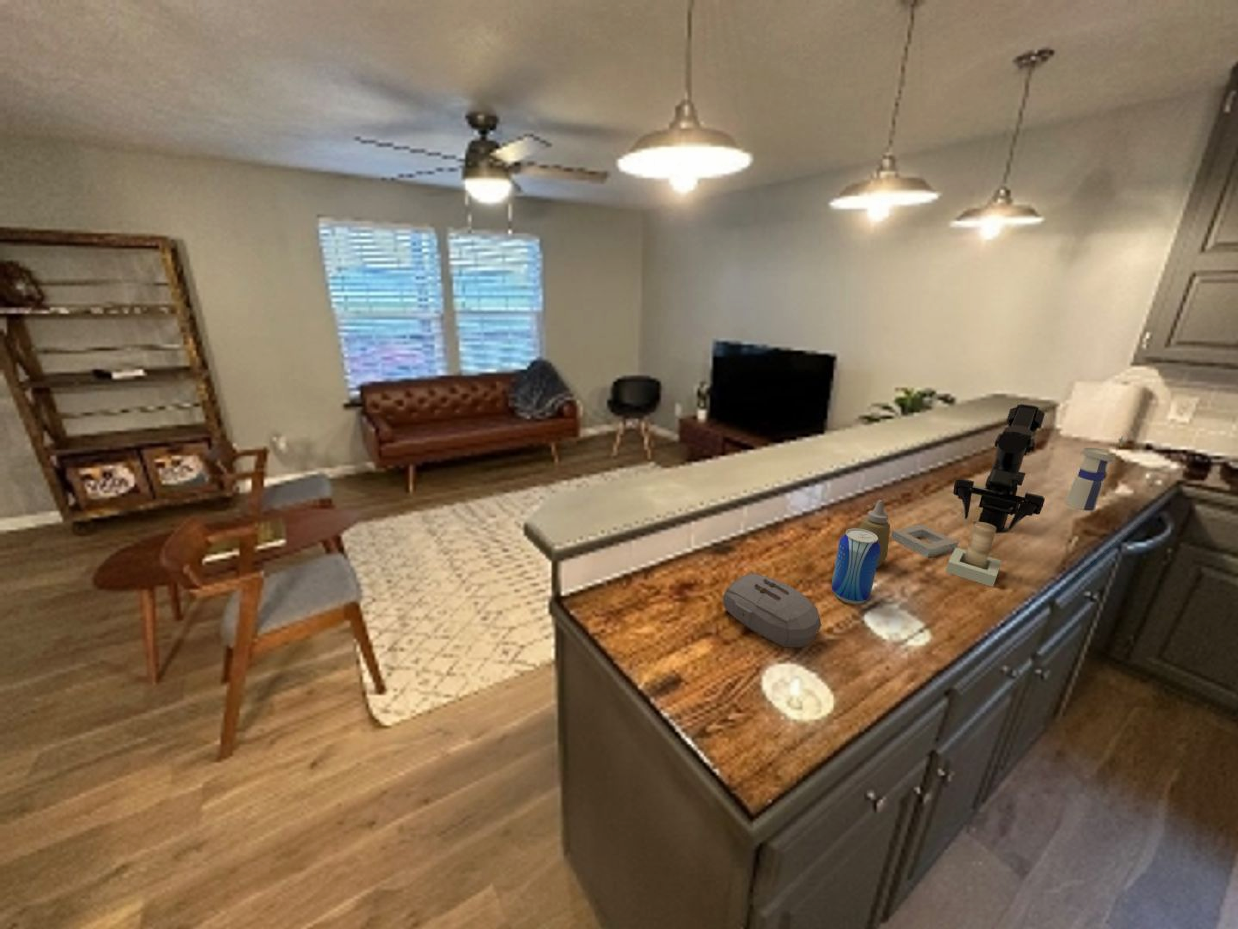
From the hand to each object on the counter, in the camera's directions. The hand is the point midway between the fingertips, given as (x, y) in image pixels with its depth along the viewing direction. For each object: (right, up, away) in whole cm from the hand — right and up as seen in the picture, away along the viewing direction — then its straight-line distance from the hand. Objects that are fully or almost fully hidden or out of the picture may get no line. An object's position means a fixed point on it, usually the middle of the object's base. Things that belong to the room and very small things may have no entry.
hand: (987, 523), depth 127 cm
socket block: (-8, -7, +14) cm, 17 cm away
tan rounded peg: (-4, -12, 0) cm, 13 cm away
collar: (-4, -12, 0) cm, 13 cm away
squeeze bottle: (-29, -11, +4) cm, 31 cm away
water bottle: (+61, +1, +40) cm, 73 cm away
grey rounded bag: (-61, -19, -19) cm, 67 cm away
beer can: (-40, -16, -10) cm, 44 cm away
